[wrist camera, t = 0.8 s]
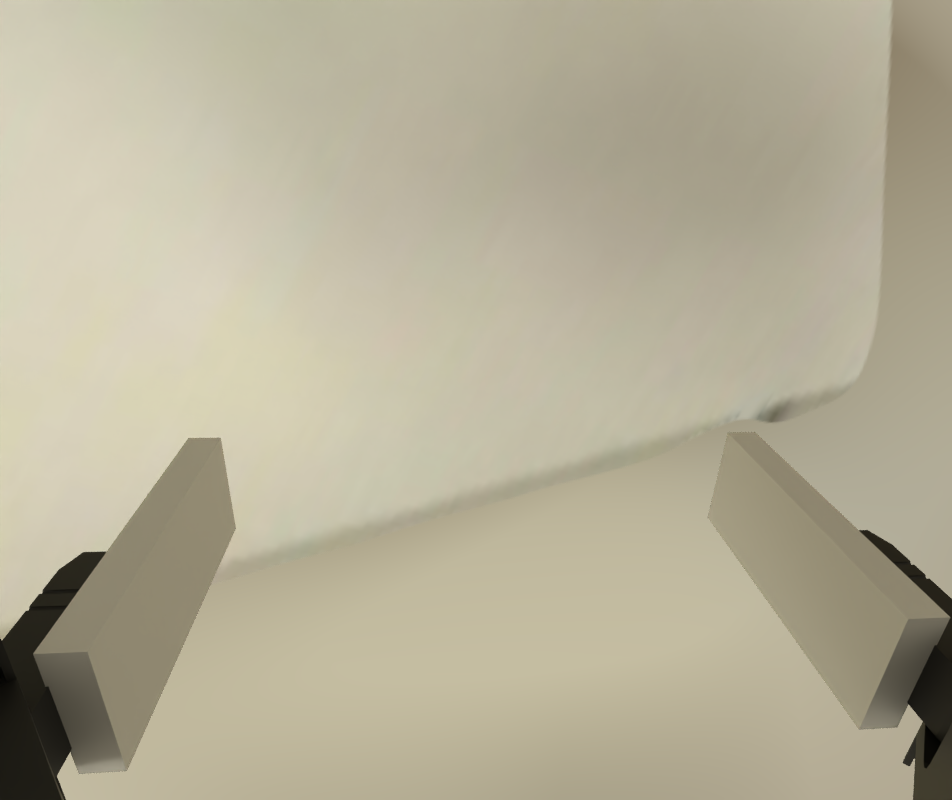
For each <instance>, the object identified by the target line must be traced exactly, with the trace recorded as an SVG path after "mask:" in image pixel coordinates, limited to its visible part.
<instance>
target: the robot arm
mask: <svg viewBox="0 0 952 800" xmlns="http://www.w3.org/2000/svg"><path fill="white" fill-rule="evenodd" d="M708 518H709V520H710V521H711V523H712V524H713V526H714V527H715V528H716V530H717V531H718V533H719V534H720V535H721V537H722V538H723V540H724V541H725V542H726V544H727V545H728V547H729V548H730V549H731V551H732V552H733V553H734V555H735V556H736V558H737V559H738V561H739V562H740V563H741V565H742V566H743V568H744V569H745V570H746V572H747V573H748V575H749V576H750V577H751V579H752V580H753V582H754V583H755V584H756V586H757V587H758V589H759V590H760V591H761V593H762V594H763V596H764V597H765V598H766V600H767V601H768V603H769V604H770V605H771V607H772V608H773V610H774V611H775V612H776V614H777V615H778V617H779V618H780V619H781V621H782V622H783V624H784V625H785V626H786V628H787V629H788V631H789V632H790V633H791V635H792V636H793V638H794V639H795V640H796V642H797V643H798V645H799V646H800V648H801V649H802V650H803V652H804V653H805V654H806V656H807V657H808V659H809V660H810V661H811V663H812V664H813V666H814V667H815V668H816V670H817V671H818V673H819V674H820V675H821V677H822V678H823V680H824V681H825V682H826V684H827V685H828V686H829V688H830V689H831V691H832V692H833V694H834V695H835V697H836V698H837V699H838V701H839V702H840V704H841V705H842V706H843V708H844V709H845V711H846V712H847V713H848V715H849V716H850V718H851V719H852V720H853V722H854V723H855V724H856V726H857V727H858V729H875V728H894V727H897V726H898V725H899V722H900V720H901V718H902V716H903V714H904V712H905V710H906V708H907V706H908V704H909V705H910V706H911V707H912V709H913V710H914V711H915V712H916V714H917V715H918V716H919V717H920V718H921V720H922V721H923V723H922V725H921V727H920V729H919V731H918V733H917V735H916V737H915V738H914V740H913V742H912V744H911V746H910V748H909V750H908V752H907V754H906V756H905V759H904V761H903V763H904V764H906V765H908V766H910V765H911V763H912V761H913V759H914V758H915V774H914V794H913V800H952V599H951V598H950V597H949V596H948V595H947V594H946V593H944V592H943V591H942V590H941V589H940V588H939V587H938V586H937V585H936V584H935V583H934V582H932V581H931V580H930V579H926V577H925V574H924V573H923V572H922V571H920V570H919V569H918V568H917V567H916V566H915V565H911V563H910V561H909V560H908V559H907V558H906V557H905V556H904V555H903V554H902V553H901V552H900V551H898V550H897V549H896V548H895V547H894V546H893V545H892V544H890V543H888V542H887V541H885V540H883V539H882V538H880V537H878V536H876V535H875V534H873V533H871V532H870V531H868V530H858V529H857V528H856V527H854V526H853V525H852V524H851V523H850V522H849V521H848V520H847V519H846V518H845V517H844V516H843V515H842V514H841V513H840V512H839V511H838V510H837V509H835V507H833V506H832V505H831V504H830V503H829V502H828V501H827V500H826V499H825V498H824V497H823V496H822V495H821V494H820V493H819V492H818V491H817V490H816V489H814V488H813V487H812V486H811V485H810V484H809V483H808V482H807V481H806V480H805V479H804V478H803V477H802V476H801V475H800V474H799V473H797V471H795V470H794V469H793V468H792V467H791V466H790V465H789V464H788V463H787V462H786V461H785V460H784V459H783V458H782V457H781V456H780V455H779V454H778V453H776V452H775V451H774V450H773V449H772V448H771V447H770V446H769V445H768V444H767V443H766V442H765V441H764V440H763V439H762V438H760V437H759V435H757V434H756V433H755V432H737V433H736V432H733V433H732V432H730V433H727V438H726V442H725V446H724V451H723V455H722V459H721V463H720V467H719V472H718V476H717V480H716V484H715V488H714V493H713V497H712V501H711V505H710V510H709V514H708ZM235 529H236V527H235V521H234V515H233V509H232V503H231V497H230V491H229V485H228V479H227V473H226V467H225V461H224V455H223V449H222V443H221V438H188V440H187V441H186V443H185V444H184V445H183V447H182V448H181V449H180V451H179V452H178V454H177V455H176V456H175V458H174V459H173V461H172V462H171V463H170V465H169V466H168V468H167V469H166V470H165V472H164V473H163V474H162V476H161V477H160V479H159V480H158V481H157V483H156V484H155V486H154V487H153V488H152V490H151V491H150V492H149V494H148V495H147V497H146V498H145V499H144V501H143V502H142V504H141V505H140V506H139V508H138V509H137V511H136V512H135V513H134V515H133V516H132V517H131V519H130V520H129V522H128V523H127V524H126V526H125V527H124V529H123V530H122V531H121V533H120V534H119V535H118V537H117V538H116V540H115V541H114V542H113V544H112V545H111V547H110V548H109V549H108V551H107V552H83V553H82V554H80V555H79V556H77V557H76V558H75V559H73V560H72V561H71V562H69V563H68V564H66V565H65V566H64V567H62V568H61V569H59V570H58V571H57V573H56V574H55V575H54V576H53V578H52V579H51V580H50V582H49V583H48V584H47V585H46V587H45V588H44V589H43V593H42V594H39V595H38V597H37V598H36V599H35V600H34V602H33V603H32V604H31V605H30V607H29V611H26V612H25V613H24V614H23V615H22V617H21V618H20V619H19V620H18V622H17V623H16V624H15V625H14V627H13V628H12V629H11V630H10V632H9V633H8V634H7V635H6V637H5V638H4V639H3V640H2V641H1V639H0V800H66V799H65V796H64V794H63V791H62V788H61V786H60V783H59V781H58V778H57V774H58V773H59V771H60V769H61V767H62V765H63V763H64V762H65V760H66V758H67V756H68V755H69V753H70V752H71V755H72V757H73V760H74V763H75V765H76V767H77V770H78V773H79V774H85V773H101V772H120V771H127V769H128V767H129V765H130V763H131V760H132V758H133V756H134V754H135V752H136V749H137V747H138V745H139V743H140V740H141V738H142V736H143V734H144V732H145V729H146V727H147V725H148V723H149V720H150V718H151V716H152V714H153V711H154V709H155V707H156V705H157V702H158V700H159V698H160V696H161V694H162V691H163V689H164V687H165V685H166V683H167V680H168V678H169V676H170V674H171V671H172V669H173V667H174V665H175V662H176V660H177V658H178V656H179V654H180V651H181V649H182V647H183V645H184V642H185V640H186V638H187V636H188V634H189V631H190V629H191V627H192V624H193V622H194V620H195V618H196V616H197V614H198V611H199V609H200V607H201V605H202V602H203V600H204V598H205V596H206V593H207V591H208V589H209V587H210V585H211V582H212V580H213V578H214V576H215V573H216V571H217V569H218V567H219V565H220V562H221V560H222V558H223V556H224V553H225V551H226V549H227V547H228V545H229V542H230V540H231V538H232V536H233V533H234V531H235Z"/></svg>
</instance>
